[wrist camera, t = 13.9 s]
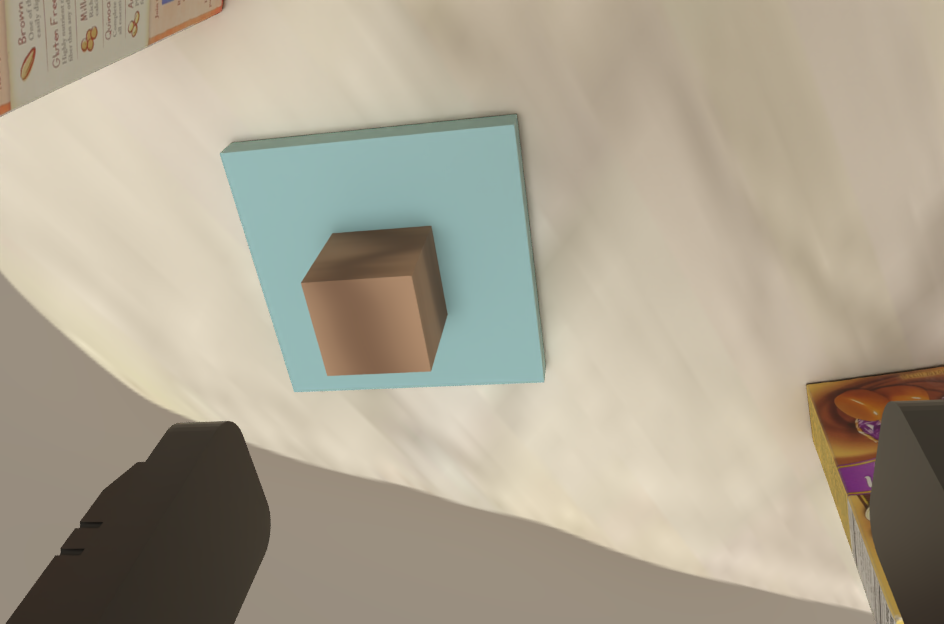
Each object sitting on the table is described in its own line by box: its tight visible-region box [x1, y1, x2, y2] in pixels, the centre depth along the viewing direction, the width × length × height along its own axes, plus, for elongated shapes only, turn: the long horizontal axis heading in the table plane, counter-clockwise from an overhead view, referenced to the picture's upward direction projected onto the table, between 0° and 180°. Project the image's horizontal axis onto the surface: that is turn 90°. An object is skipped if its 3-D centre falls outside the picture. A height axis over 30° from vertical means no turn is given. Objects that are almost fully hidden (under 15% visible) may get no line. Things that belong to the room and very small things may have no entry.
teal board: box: [220, 114, 546, 392], centre depth 41 cm, size 14×14×2 cm
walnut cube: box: [301, 226, 448, 376], centre depth 38 cm, size 5×5×5 cm
